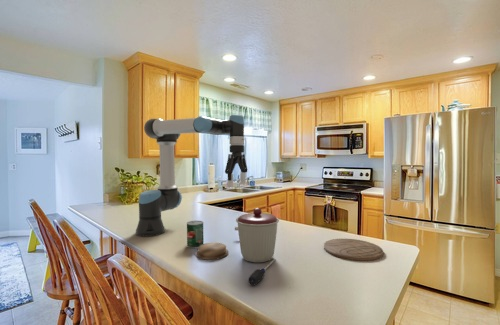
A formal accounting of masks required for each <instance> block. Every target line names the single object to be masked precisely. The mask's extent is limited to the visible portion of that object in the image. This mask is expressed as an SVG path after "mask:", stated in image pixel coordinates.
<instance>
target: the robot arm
mask: <svg viewBox="0 0 500 325" xmlns="http://www.w3.org/2000/svg"><path fill="white" fill-rule="evenodd" d="M143 125H144V126H143V127H144V128H143V130H144V132H145V134H146V136H148V137H149V138H150V139H153V140H156V143H157V145H159V184H160V185H159V186H158V187H157V189H152V190H150V189H149V190H145V191H143V192H141V193H140V194H139V196H138V223H137V227H136V230H135V235H136V236H138V237H153V236H159V235H162V234H163V233H165V232H166V231H165V229H166V228H165V226H164V222H163V220H162V212H165V211H169V210H174V209H175V208H176V209H177V208H178V207H179V206H180V204H181V203H182V198H183V197H182V193H181V191H180V190H179V189H178V186H177V185H176V176H175V173H176V171H175V169H176V167H175V145H176V144H177V143H178V139H179V138H180V136H181V134H197V133H198V134H204V133H205V134H207V133H208V134H211V135H213V136H214V135H216V136H219V135H229V153H228V157H227V161H226V162H227V163H226V166H225V170H224V173H225V174H226V175H227V188H234V173H233V172H234V169H235V167H236V165H237V164H238V168H239V170H240V173H239V174H240V176H239V177H240V178H239V179H240V185H246V173H248V166H247V162H246V161H247V160H246V155H245V153H244V152H245V145H244V144H245V120H244V116H243V115H241V114H230V115H229V119H216V118H213V117H207V116H202V115H201V116H198V117H194V118H193V117H192V118H177V119H162V118H150V119H148V120H147V121H146V122H145V123H144V124H143Z"/></svg>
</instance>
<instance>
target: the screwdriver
mask: <svg viewBox="0 0 500 325" xmlns="http://www.w3.org/2000/svg"><path fill="white" fill-rule="evenodd" d="M275 261H276V258H273V260H272V261H271V262H270V263H268V264H267V266H265V267H263V268H261V269H255V270H254V271H253V272H252V274H250V276H249V277H248V280H247V281H248V284H249V285H250V286H255V285H257V284H258V283H260V282H261V281H262V280H263V278H264V276H265V273H266V270H267V269H268V268H269V267H270V266H271V265H272V264H274V262H275Z"/></svg>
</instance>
